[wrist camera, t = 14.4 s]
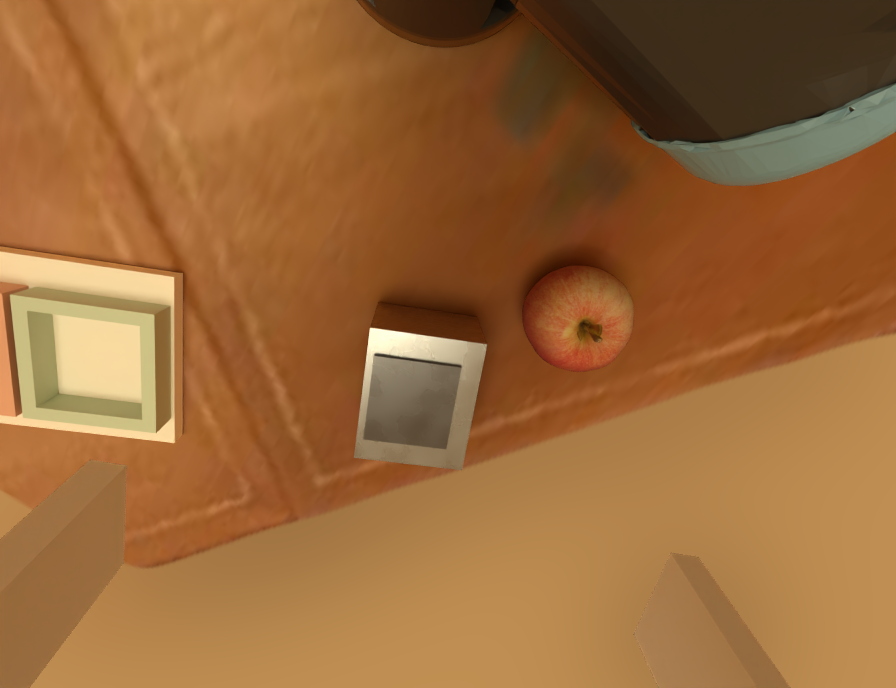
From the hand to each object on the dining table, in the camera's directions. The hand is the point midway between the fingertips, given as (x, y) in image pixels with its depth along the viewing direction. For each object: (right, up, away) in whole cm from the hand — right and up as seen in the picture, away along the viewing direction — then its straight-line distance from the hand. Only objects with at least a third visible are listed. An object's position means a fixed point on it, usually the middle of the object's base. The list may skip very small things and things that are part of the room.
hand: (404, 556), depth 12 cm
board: (-30, +5, +28) cm, 41 cm away
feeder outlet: (-1, +3, +30) cm, 30 cm away
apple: (+11, +8, +29) cm, 32 cm away
